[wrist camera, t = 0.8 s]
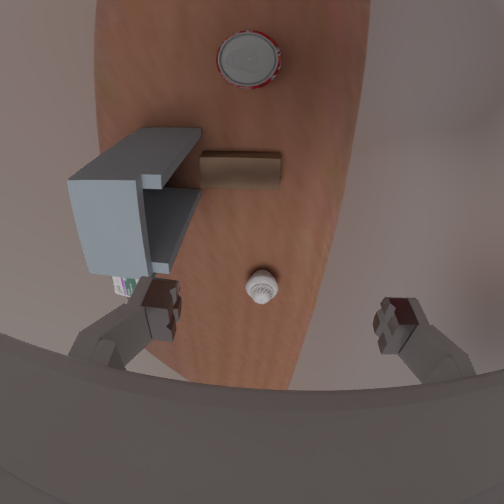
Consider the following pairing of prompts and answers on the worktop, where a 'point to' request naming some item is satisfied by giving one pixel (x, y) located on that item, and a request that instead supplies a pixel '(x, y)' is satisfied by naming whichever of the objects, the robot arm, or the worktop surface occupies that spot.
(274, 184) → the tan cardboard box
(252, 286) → the white ceramic jar
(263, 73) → the soda can
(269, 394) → the robot arm
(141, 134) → the shelf
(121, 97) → the worktop surface
